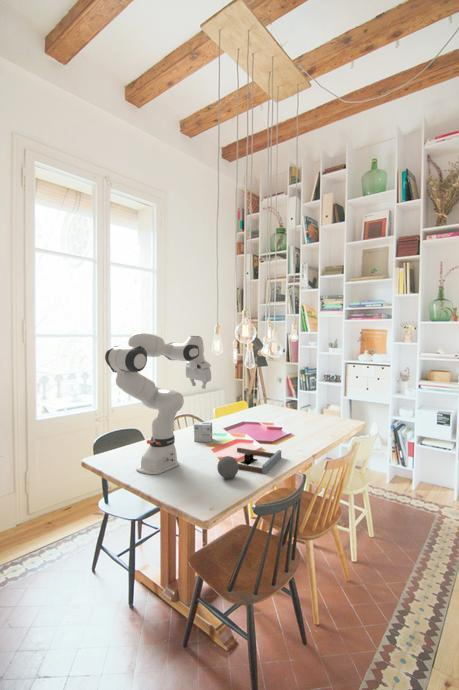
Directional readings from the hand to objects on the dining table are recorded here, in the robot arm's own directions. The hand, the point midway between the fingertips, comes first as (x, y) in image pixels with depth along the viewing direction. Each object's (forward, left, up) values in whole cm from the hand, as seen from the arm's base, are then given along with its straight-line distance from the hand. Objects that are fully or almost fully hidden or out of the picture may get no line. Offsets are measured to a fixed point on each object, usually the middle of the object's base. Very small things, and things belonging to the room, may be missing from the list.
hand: (198, 387), depth 211 cm
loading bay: (-6, -34, -36) cm, 50 cm away
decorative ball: (-29, -33, -36) cm, 57 cm away
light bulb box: (+14, +6, -36) cm, 40 cm away
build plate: (-6, -34, -37) cm, 50 cm away
